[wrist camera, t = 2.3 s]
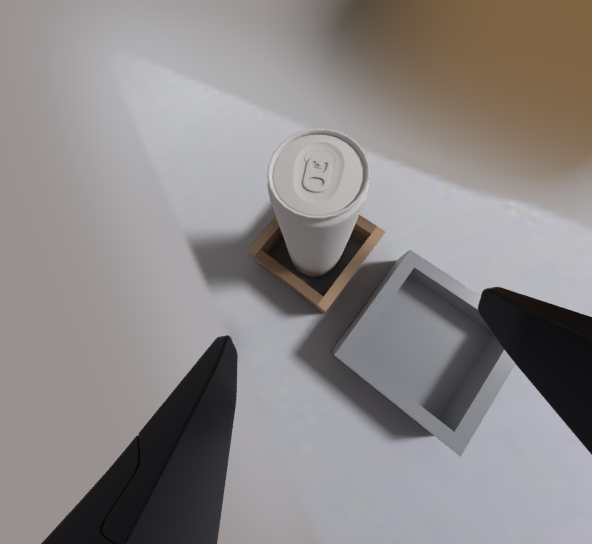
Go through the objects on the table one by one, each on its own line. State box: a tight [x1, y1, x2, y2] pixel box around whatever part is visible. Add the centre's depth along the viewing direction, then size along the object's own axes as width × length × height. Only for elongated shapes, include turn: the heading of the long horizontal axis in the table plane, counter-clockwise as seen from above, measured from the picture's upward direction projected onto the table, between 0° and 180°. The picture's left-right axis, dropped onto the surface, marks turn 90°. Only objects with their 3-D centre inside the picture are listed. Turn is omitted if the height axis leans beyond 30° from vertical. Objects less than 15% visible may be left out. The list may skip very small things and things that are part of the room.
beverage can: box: [267, 128, 370, 276], centre depth 16 cm, size 5×5×12 cm
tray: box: [331, 250, 515, 457], centre depth 18 cm, size 10×10×3 cm
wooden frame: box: [247, 215, 385, 313], centre depth 21 cm, size 8×8×3 cm
